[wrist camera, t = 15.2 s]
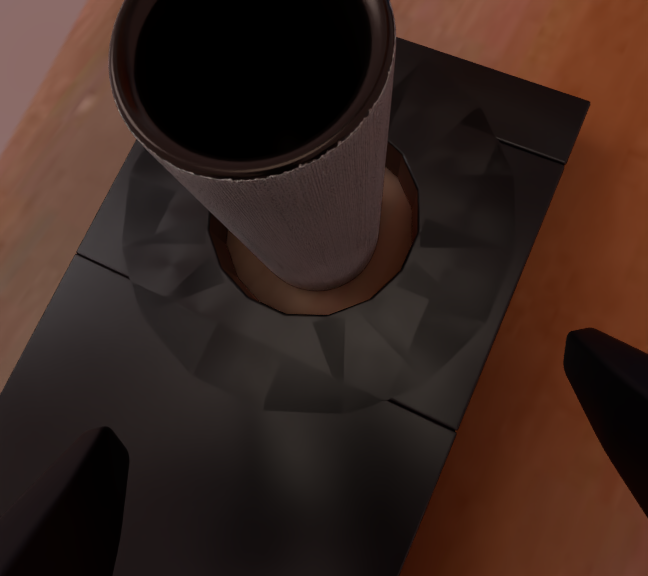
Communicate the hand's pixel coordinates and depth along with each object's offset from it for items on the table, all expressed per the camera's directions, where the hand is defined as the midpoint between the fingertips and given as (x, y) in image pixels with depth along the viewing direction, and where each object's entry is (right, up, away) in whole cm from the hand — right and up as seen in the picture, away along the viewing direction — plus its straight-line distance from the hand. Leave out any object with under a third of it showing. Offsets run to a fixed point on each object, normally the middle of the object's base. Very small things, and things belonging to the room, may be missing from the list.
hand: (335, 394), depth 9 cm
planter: (0, +4, +8) cm, 9 cm away
